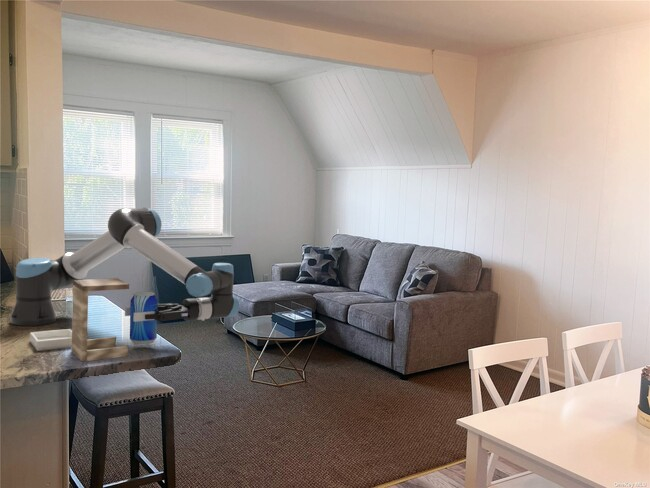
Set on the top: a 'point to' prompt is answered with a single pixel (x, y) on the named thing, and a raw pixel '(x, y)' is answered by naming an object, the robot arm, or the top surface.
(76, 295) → the dock
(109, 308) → the top surface
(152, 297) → the beer can
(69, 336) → the tray
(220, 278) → the robot arm
